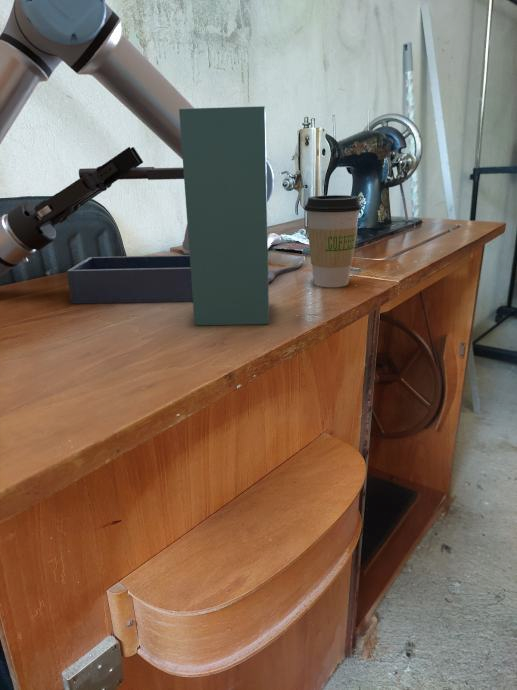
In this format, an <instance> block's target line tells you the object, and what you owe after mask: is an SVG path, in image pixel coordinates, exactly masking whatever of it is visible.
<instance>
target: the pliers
mask: <svg viewBox="0 0 517 690" xmlns="http://www.w3.org/2000/svg"><path fill="white" fill-rule="evenodd" d="M302 264H303V263H302V260H301V259H299V260H298V262H297V263H295V264H293V265H289V266H284V267H281V268H277V269H272V270H268V284H269V283H270V282H272V281H273V280H274V279H275V277H276V276H277V275H279V274H282V273H285V272H290V271H292V270H297V269H298V268H299V267H301V266H302Z"/></svg>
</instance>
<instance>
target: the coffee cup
mask: <svg viewBox="0 0 517 690" xmlns="http://www.w3.org/2000/svg"><path fill="white" fill-rule="evenodd" d="M361 210H363V207H362V204H361V203H360V199H359V197H358V196H357V195H347V194H346V195H345V194H329V195H326V194H325V195H313V196H309V197H308V198H307V201H306V204H305V205H304V211H305V212H306V217H307V226H306V227H307V236H308V246H309V255H310V257H309V258H310V264H311V267H312V269H311V270H312V277H313V278H312V279H313V284H314V285H315V286H317V287H322V288H341V287H346V286H347V285H349V281H350V274H351V270H352V269H351V267H352V264H353V260H354V253H355V248H356V240H357V235H358V228H359V225H358V222H359V216H360V211H361Z"/></svg>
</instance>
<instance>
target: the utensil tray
mask: <svg viewBox="0 0 517 690" xmlns="http://www.w3.org/2000/svg"><path fill="white" fill-rule="evenodd" d="M66 277H67V282H68V289H69V295H70V301H71V305H72V304H74V305H79V304H83V305H84V304H129V303H130V304H131V303H133V304H134V303H175V302H176V303H180V302H193V293H192V280H191V266H190V255H185V254H183V255H182V254H177V255H176V254H175V255H174V254H173V255H169V254H168V255H159V256H147V255H133V256H131V255H130V256H129V255H127V256H89V257H87V258H86V259H83V260H82V261H80V262H79V263H77V264H76V265H74V266H73V267H70V268H69V269H68V270H66Z"/></svg>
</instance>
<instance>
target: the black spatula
mask: <svg viewBox="0 0 517 690" xmlns="http://www.w3.org/2000/svg"><path fill="white" fill-rule="evenodd" d="M96 169H98V168H97V167H95V168H94V167H93V168H92V167H90V168H89V167H88V168H79V169H78V179H80V178H81V177H83V175H85V174H88V175H89V174H90V173H91V172H94V171H95V172H96V173H97V171H96ZM115 180H117V181H118V180H148V181H157V180H184V171H183V166H182V167H155V166H137V167H133V168H132V169H130V170H129V171H127V172H126V173H124V174H123V175H121V176H120V177H118V178H117V179H115Z"/></svg>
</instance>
